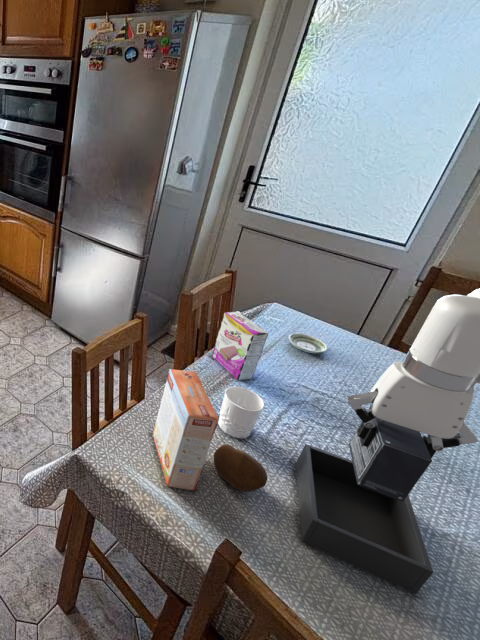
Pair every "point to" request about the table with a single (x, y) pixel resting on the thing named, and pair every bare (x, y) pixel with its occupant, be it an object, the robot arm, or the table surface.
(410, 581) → the basket
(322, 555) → the table surface
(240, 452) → the potato
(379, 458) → the small box
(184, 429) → the cracker box
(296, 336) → the saucer
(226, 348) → the candy bar box
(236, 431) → the white cup
